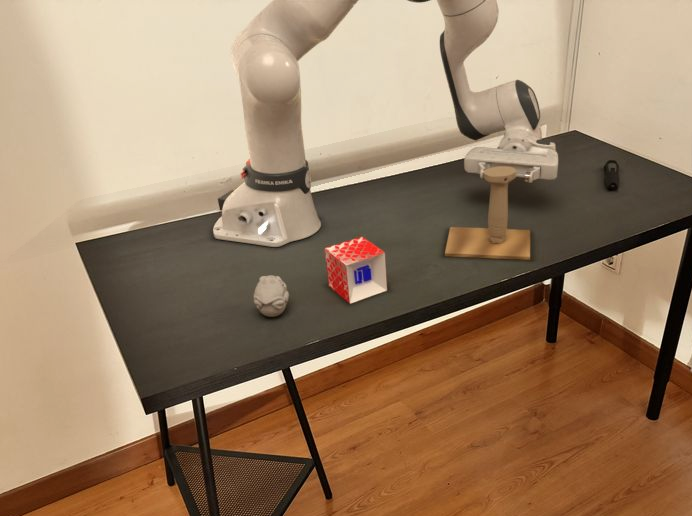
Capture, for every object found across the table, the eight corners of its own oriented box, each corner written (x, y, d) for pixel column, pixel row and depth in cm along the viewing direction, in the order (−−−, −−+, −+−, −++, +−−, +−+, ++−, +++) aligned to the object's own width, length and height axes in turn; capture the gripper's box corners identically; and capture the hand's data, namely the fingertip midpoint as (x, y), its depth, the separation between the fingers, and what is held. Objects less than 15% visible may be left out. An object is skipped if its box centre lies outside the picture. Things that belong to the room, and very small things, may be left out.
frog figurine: (295, 303, 130) (290, 269, 126) (286, 324, 124) (281, 290, 120) (261, 302, 130) (255, 268, 126) (251, 324, 124) (245, 289, 120)
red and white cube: (365, 273, 139) (362, 236, 134) (387, 290, 133) (384, 252, 129) (328, 286, 135) (324, 248, 130) (349, 304, 130) (345, 265, 125)
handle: (516, 242, 147) (520, 172, 139) (488, 249, 145) (491, 178, 137) (505, 233, 151) (508, 164, 142) (477, 239, 149) (479, 169, 140)
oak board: (444, 256, 144) (444, 252, 144) (450, 230, 154) (450, 226, 154) (529, 260, 143) (530, 256, 143) (529, 233, 153) (530, 229, 152)
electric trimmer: (603, 193, 171) (605, 181, 169) (603, 168, 183) (604, 156, 181) (619, 194, 170) (621, 182, 168) (618, 169, 182) (620, 157, 180)
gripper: (470, 136, 161) (457, 158, 150) (562, 143, 157) (555, 166, 146) (470, 163, 164) (457, 187, 153) (560, 171, 160) (552, 195, 150)
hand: (505, 177), depth 150 cm, fingers open, 8 cm apart
